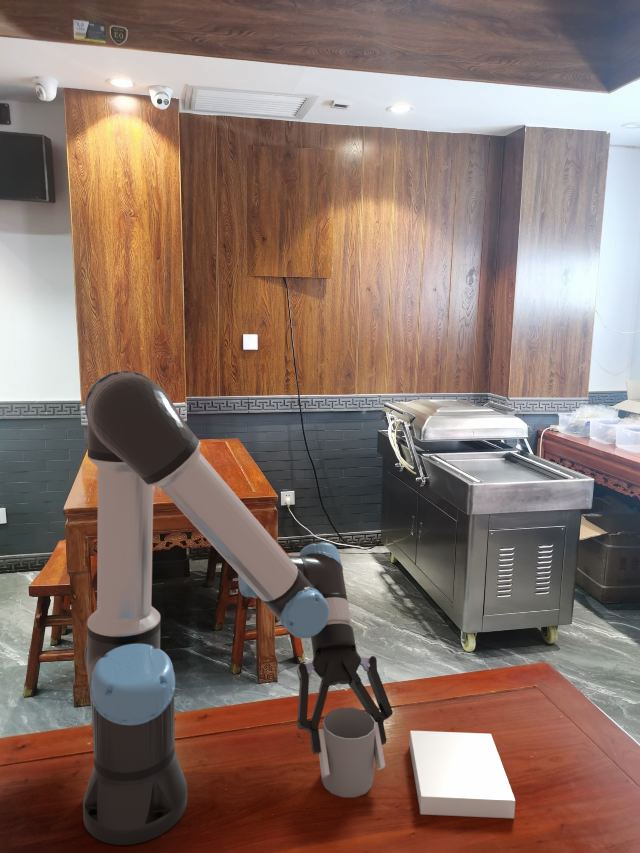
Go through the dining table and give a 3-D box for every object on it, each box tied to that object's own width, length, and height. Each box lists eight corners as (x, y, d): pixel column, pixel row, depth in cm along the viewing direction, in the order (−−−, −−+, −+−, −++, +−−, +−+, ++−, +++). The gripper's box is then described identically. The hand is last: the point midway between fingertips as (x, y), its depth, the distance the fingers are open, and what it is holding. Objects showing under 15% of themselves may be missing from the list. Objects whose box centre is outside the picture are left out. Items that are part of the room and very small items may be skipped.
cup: (311, 776, 105) (312, 720, 104) (347, 755, 111) (349, 701, 109) (347, 805, 99) (348, 746, 97) (383, 781, 104) (386, 724, 103)
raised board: (420, 814, 98) (421, 796, 97) (409, 746, 113) (410, 730, 113) (513, 818, 97) (515, 800, 97) (489, 749, 113) (490, 733, 112)
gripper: (382, 631, 119) (410, 767, 106) (269, 641, 115) (284, 785, 102) (393, 616, 113) (424, 758, 100) (274, 626, 109) (290, 777, 96)
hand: (353, 771), depth 101 cm, fingers closed on cup, 8 cm apart
